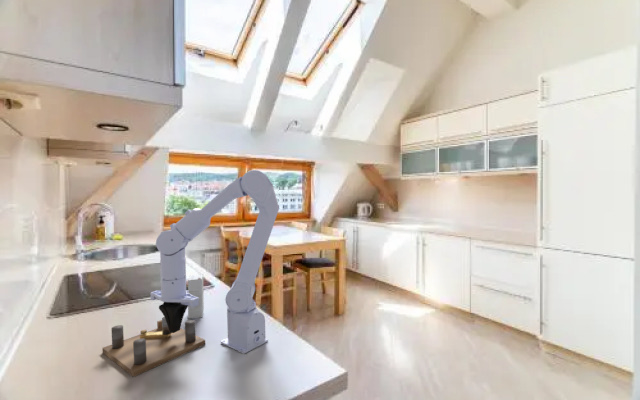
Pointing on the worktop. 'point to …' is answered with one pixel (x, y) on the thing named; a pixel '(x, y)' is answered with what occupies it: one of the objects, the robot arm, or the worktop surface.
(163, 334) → the bar
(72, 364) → the worktop surface
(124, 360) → the seat board
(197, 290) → the skincare box
